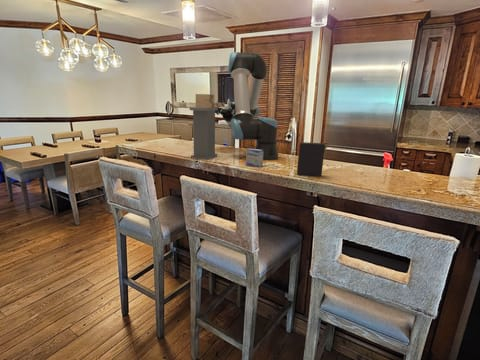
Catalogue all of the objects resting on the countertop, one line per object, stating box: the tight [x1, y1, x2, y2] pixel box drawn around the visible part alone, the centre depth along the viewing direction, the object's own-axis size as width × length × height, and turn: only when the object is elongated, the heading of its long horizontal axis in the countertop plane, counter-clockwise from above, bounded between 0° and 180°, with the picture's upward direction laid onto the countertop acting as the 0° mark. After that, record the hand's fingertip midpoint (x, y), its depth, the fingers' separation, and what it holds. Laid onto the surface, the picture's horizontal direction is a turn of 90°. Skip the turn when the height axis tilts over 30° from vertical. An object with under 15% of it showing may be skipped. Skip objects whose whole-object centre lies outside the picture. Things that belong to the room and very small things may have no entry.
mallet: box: [195, 93, 226, 108], centre depth 167 cm, size 27×8×7 cm, turn 159°
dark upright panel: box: [296, 141, 326, 177], centre depth 131 cm, size 11×4×15 cm, turn 84°
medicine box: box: [245, 148, 264, 168], centre depth 147 cm, size 8×4×9 cm, turn 62°
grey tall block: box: [189, 106, 218, 161], centre depth 162 cm, size 16×11×28 cm
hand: (217, 100), depth 173 cm, fingers open, 13 cm apart
